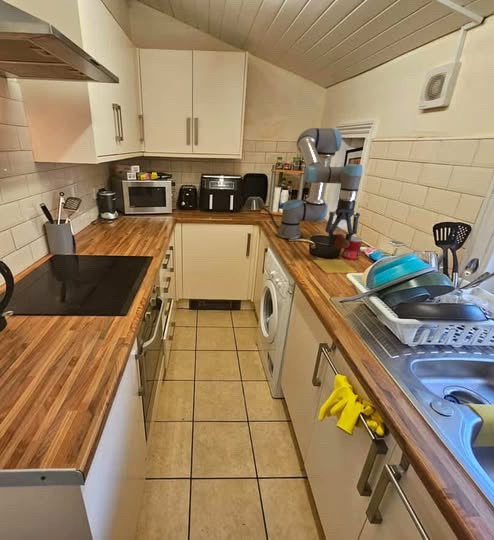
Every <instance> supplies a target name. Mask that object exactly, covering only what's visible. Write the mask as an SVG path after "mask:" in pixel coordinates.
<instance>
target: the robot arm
mask: <svg viewBox="0 0 494 540" xmlns="http://www.w3.org/2000/svg"><path fill="white" fill-rule="evenodd" d="M342 140H343V139H342V133H341V131H340V129H338V128H333V127H332V128H331V127H329V128H325V127H324V128H322V127H321V128H320V127H318V128H317V127H311V128H310V127H309V128H308V129H306V130H304V131H303V132H301V133H300V134H299V136H298V137H297V141H296V148H297V151H298V152H299V153H300V154H301V157H302V160H303V163H304V166H305V168H304V171H303V181H304V182H305V183H310V184H311V185H310V190H309V195H308V197H307V198H306V199H305V202H303V200H302V199H288V200H286V201H284V202H283V204H282V208H281V209H282V211H281V219H280V220H281V221H280V224H279V225H278V224H277V223H276V221H275V220H274V219H275V218H274V217H273V215H272V213H271V212H270V211H269V210H268V209H266V207H264V206H262V207H261V209H264V210H265V211H266V212H267V213H269V215H270V216H271V220H272V222H273V223H274V225H275V226H276V227H277V228H278V229H277V231H276V237H278V238H280V239H285V240H299V239H300V238H301V236H302V234H301V233H302V232H301V228H300V224H301V223H300V222H312V223H313V222H314V223H316V222H317V223H318V222H320V223H321V222H322V221H324V219H325V218H326V216H327V213H328V216H329V217H328V219H327V223H326V227H325V233H327V234H328V236H327V240H328V247H329V248H333V245H332V244H333V238H334V235H335V234H334V232H335V231H336V229H337V227H338V225H339V223H340V222H341V221H345V222H346V227H347V228H346V229H347V233H346V235H345V237H344V238H345V239H347V240H348V241H351V237H352V236H354V235H357V233H358V227H359V226H358V225H359V218H360V216H361V213H359V212H356V211H355V207H356V203H357V198H358V193H359V188H360V185H361V179H362V176H363V168H364V166H363V165H362V164H359V163H345V165H344V166H331V164H332V158H334V157H335V156H336V153H337V152H339V151H340V149H341V147H342ZM327 184H339V185H340V189H339V195H338V200H337V205H336V209H335V210H334V211H331V210H330V211H329V212H328V204H327V203H326V200H325V198H324V197H325V192H326V188H327ZM263 207H264V208H263ZM335 216H336V217H335ZM352 216H353V222H352V219H351V218H352ZM334 217H335V220H334Z"/></svg>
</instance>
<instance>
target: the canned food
mask: <svg viewBox="0 0 494 540" xmlns="http://www.w3.org/2000/svg"><path fill="white" fill-rule="evenodd" d="M362 242H363V238H361V237H359V236H356V235H355V236H354V235H352V237H351V241H349V243H350V245H349V247H347V248H344V249H342V254H341V255H342V258H344V259H345V260H351V261H355V260H357V259H358V258H359V255H360V251H361V247H362Z"/></svg>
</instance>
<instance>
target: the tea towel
mask: <svg viewBox="0 0 494 540" xmlns="http://www.w3.org/2000/svg"><path fill="white" fill-rule="evenodd" d="M312 261H313V263H314V264H315V265H317V266H318V267H319V269H321V271H323V272H324V273H325V274H331V273H332V274H335V273H337V274H339V273H343V274H344V273H345V274H347V273H358V270H356V269H355V268H353V267H352V266H350V265H349V264H348V263H347V262H346V261H344V260H343V259H312Z"/></svg>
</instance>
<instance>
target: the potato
mask: <svg viewBox="0 0 494 540" xmlns="http://www.w3.org/2000/svg"><path fill="white" fill-rule="evenodd" d="M345 238H346V237H345V236H344V235H342V234H340V233H337V234H336V233H335V234H334V238H333V244H332V247H333V248H336V249H339V250H340V249H341V250H344V248H347V247H349V245H350V243H349V241H348V240H347V239H345Z"/></svg>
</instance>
